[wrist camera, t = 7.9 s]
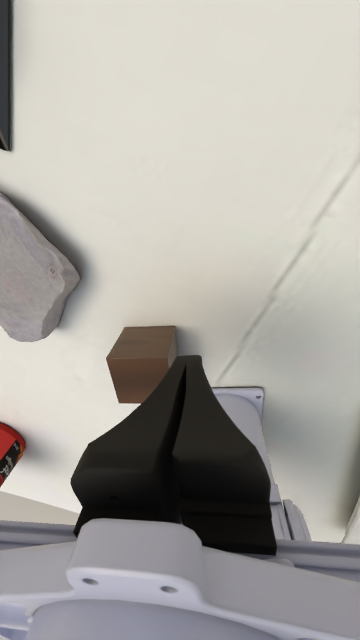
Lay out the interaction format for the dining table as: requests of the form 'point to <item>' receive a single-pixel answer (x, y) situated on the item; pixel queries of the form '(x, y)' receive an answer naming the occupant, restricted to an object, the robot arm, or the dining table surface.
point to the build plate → (5, 73)
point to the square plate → (353, 527)
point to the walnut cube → (141, 361)
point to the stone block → (30, 277)
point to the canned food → (9, 450)
